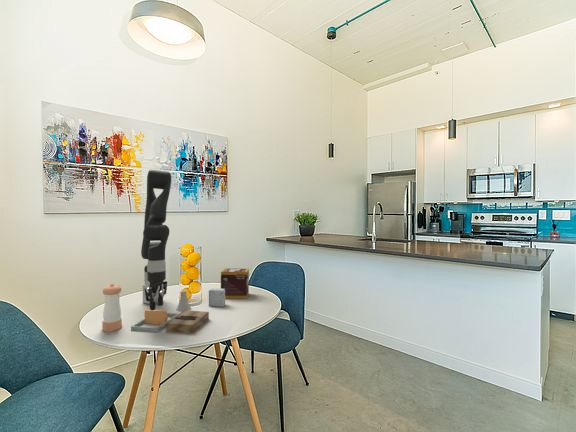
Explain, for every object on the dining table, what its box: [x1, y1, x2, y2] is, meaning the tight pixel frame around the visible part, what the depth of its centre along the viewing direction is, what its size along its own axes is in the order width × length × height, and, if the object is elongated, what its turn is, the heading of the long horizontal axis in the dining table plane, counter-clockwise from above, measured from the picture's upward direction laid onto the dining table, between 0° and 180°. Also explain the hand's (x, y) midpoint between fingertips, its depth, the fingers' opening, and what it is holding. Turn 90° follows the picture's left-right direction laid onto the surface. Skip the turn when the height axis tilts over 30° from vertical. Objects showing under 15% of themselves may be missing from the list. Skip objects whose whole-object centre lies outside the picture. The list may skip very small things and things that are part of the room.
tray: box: [130, 312, 180, 333], centre depth 133 cm, size 12×18×2 cm, turn 172°
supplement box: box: [220, 268, 250, 299], centre depth 180 cm, size 10×15×16 cm
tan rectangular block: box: [143, 308, 168, 325], centre depth 133 cm, size 6×2×10 cm
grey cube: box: [208, 287, 226, 307], centre depth 162 cm, size 8×4×9 cm, turn 84°
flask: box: [176, 290, 192, 313], centre depth 152 cm, size 7×7×10 cm
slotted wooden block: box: [165, 310, 210, 334], centre depth 131 cm, size 12×16×5 cm
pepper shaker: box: [101, 283, 123, 332], centre depth 130 cm, size 7×7×19 cm
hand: (156, 307), depth 133 cm, fingers open, 5 cm apart
